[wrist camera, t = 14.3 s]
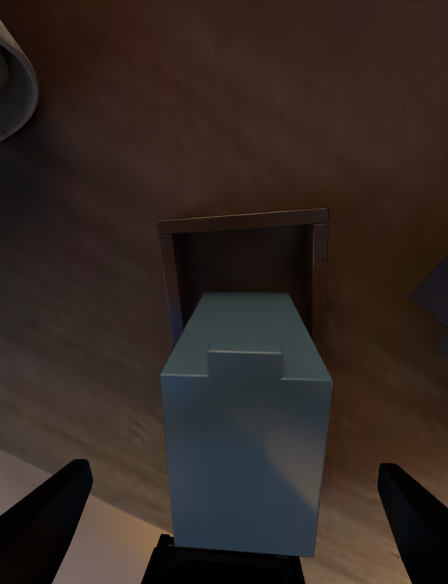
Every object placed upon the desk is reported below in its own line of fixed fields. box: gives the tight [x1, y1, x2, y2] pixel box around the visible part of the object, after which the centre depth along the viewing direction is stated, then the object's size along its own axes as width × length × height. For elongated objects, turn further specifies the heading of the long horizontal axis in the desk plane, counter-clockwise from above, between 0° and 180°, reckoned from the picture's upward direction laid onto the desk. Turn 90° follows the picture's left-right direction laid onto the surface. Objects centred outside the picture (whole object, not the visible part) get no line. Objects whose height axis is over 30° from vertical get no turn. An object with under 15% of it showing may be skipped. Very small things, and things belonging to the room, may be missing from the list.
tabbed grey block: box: [160, 292, 333, 557], centre depth 15 cm, size 6×11×10 cm, turn 1°
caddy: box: [157, 207, 329, 364], centre depth 18 cm, size 15×9×3 cm, turn 4°
